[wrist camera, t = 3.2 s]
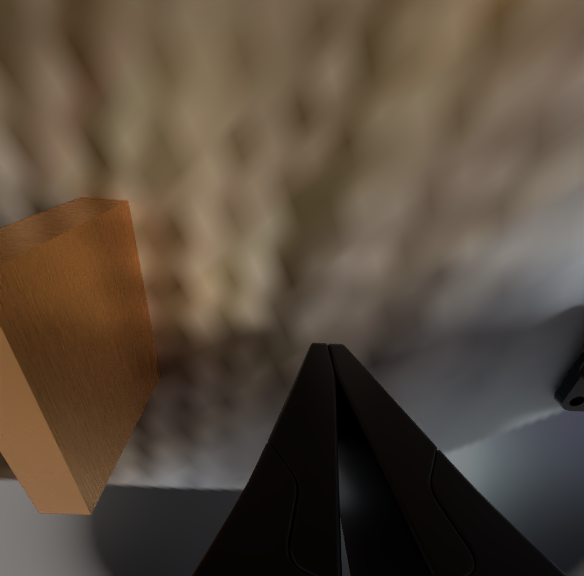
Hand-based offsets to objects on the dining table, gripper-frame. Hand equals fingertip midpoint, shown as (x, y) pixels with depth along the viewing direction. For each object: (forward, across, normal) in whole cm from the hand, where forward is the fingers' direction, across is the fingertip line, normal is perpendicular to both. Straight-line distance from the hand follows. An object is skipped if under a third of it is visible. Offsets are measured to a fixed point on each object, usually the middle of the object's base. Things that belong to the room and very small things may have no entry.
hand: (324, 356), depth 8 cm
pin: (+2, +9, 0) cm, 9 cm away
